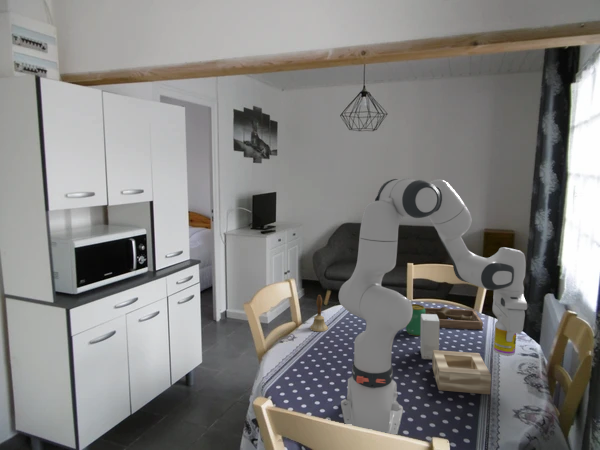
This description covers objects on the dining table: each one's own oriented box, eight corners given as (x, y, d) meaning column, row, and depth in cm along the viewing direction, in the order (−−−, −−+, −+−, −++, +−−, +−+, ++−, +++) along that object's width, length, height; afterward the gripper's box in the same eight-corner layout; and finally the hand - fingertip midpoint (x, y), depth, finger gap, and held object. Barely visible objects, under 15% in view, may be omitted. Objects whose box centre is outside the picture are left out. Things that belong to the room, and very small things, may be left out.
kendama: (469, 331, 188) (425, 320, 199) (474, 324, 196) (431, 315, 207) (470, 318, 187) (426, 308, 198) (475, 312, 195) (432, 303, 206)
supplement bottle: (516, 358, 136) (519, 320, 134) (493, 354, 138) (496, 317, 136) (513, 349, 142) (516, 313, 140) (492, 346, 144) (494, 311, 143)
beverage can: (428, 333, 184) (429, 307, 182) (416, 337, 180) (417, 311, 178) (414, 327, 191) (415, 302, 189) (402, 331, 186) (403, 305, 185)
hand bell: (331, 327, 192) (331, 293, 190) (322, 333, 185) (322, 298, 183) (315, 323, 196) (315, 291, 194) (306, 329, 189) (306, 295, 187)
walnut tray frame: (482, 329, 188) (482, 322, 187) (422, 326, 192) (422, 319, 192) (473, 316, 204) (474, 310, 203) (418, 313, 208) (418, 307, 208)
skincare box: (438, 360, 159) (440, 321, 156) (420, 359, 160) (422, 320, 158) (436, 351, 167) (437, 313, 164) (419, 349, 168) (420, 312, 166)
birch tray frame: (489, 395, 135) (491, 375, 134) (438, 390, 138) (439, 371, 137) (477, 371, 151) (479, 353, 150) (432, 367, 154) (432, 350, 153)
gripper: (489, 286, 148) (486, 324, 150) (507, 305, 128) (504, 347, 130) (508, 287, 147) (505, 325, 149) (529, 306, 127) (525, 349, 129)
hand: (504, 336), depth 139 cm, fingers closed on supplement bottle, 7 cm apart
